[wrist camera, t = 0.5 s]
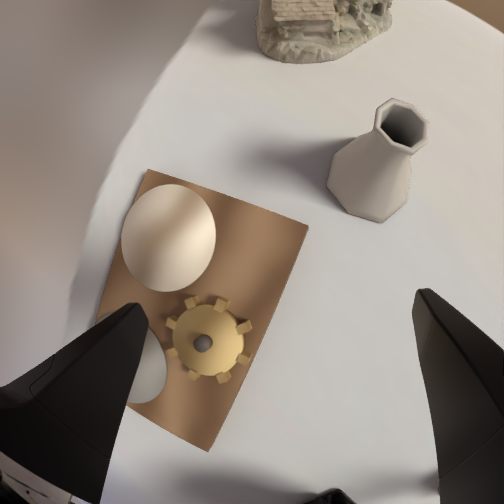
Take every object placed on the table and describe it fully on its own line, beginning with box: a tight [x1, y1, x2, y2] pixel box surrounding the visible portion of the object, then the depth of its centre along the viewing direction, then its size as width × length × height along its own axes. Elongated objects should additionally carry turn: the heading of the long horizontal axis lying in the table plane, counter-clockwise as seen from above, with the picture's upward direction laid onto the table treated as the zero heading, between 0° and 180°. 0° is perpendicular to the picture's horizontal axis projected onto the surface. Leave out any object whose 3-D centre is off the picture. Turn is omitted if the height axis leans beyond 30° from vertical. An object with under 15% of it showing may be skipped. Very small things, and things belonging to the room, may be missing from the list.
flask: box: [326, 98, 429, 223], centre depth 17 cm, size 7×7×10 cm
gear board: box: [95, 169, 308, 452], centre depth 23 cm, size 15×22×4 cm
